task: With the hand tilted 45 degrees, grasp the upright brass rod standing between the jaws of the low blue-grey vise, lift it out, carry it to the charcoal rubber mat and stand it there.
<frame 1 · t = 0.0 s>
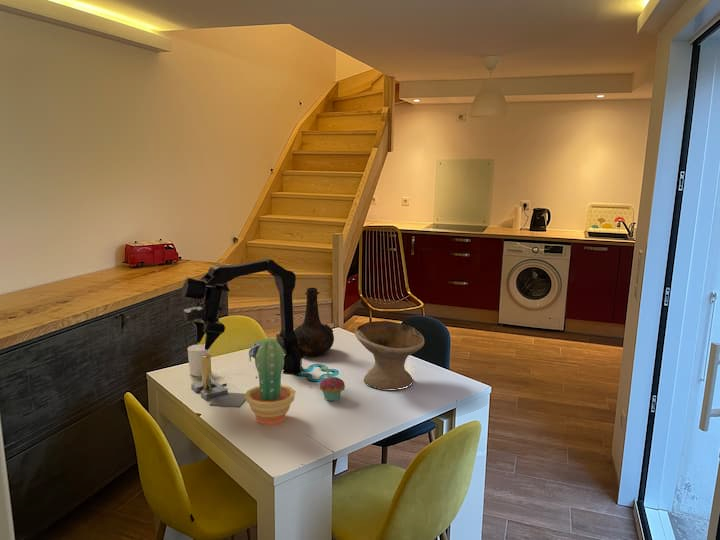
hand: (202, 346, 180), 15 cm above the table, tool pointing down, fingers open, 9 cm apart
brown vase: (312, 353, 224), on the table
rubber mat: (230, 399, 174), on the table
cupcake: (331, 398, 177), on the table
potted cactus: (270, 418, 161), on the table
white cup: (199, 373, 198), on the table
vise: (207, 392, 180), on the table
brass rod: (206, 374, 179), in the vise
bowl: (388, 382, 193), on the table
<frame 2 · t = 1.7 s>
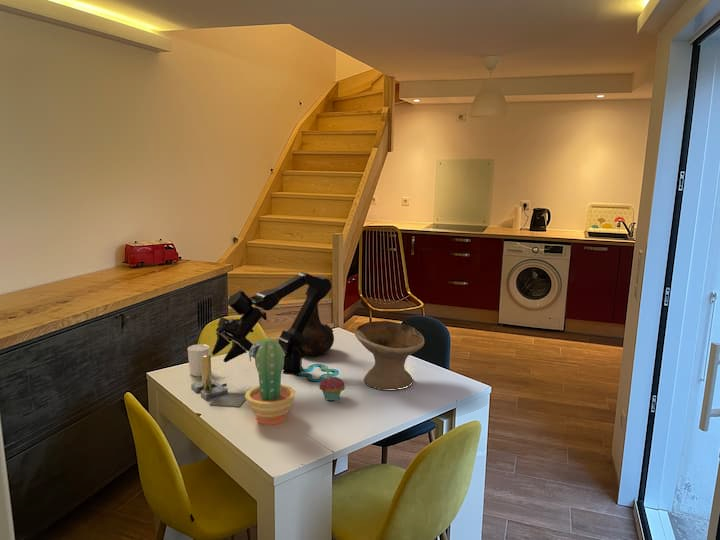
hand: (218, 358, 181), 11 cm above the table, tool tilted 45°, fingers open, 9 cm apart
nothing on the table moved.
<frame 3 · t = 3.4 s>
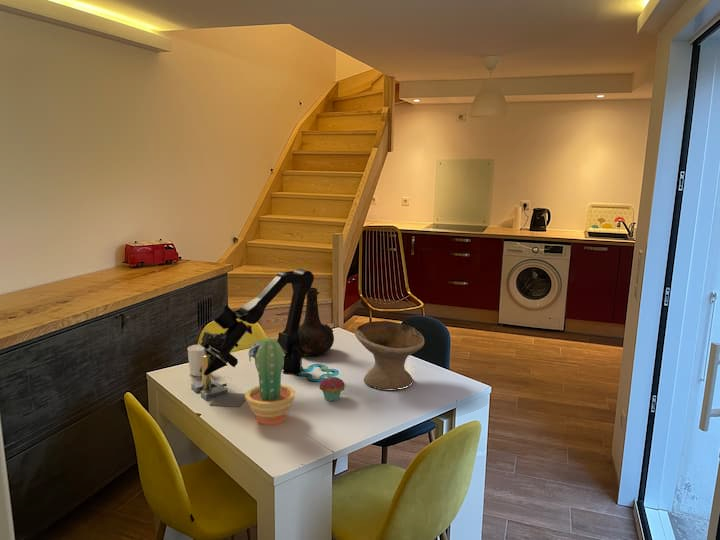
hand: (202, 373, 178), 7 cm above the table, tool tilted 45°, fingers closed on brass rod, 3 cm apart
brass rod: (206, 374, 179), in the vise, touching gripper
everything else where it was.
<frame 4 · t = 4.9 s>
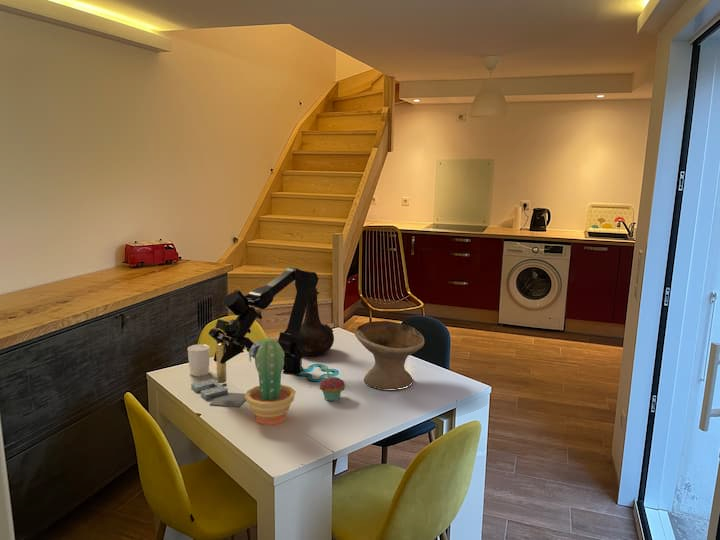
hand: (217, 362, 172), 13 cm above the table, tool tilted 45°, fingers closed on brass rod, 3 cm apart
brass rod: (221, 362, 173), point 12 cm above the table, touching gripper
everything else where it was.
when the fingers open (9 cm above the table, at t = 6.1 s): brass rod drops 1 cm, resting on rubber mat.
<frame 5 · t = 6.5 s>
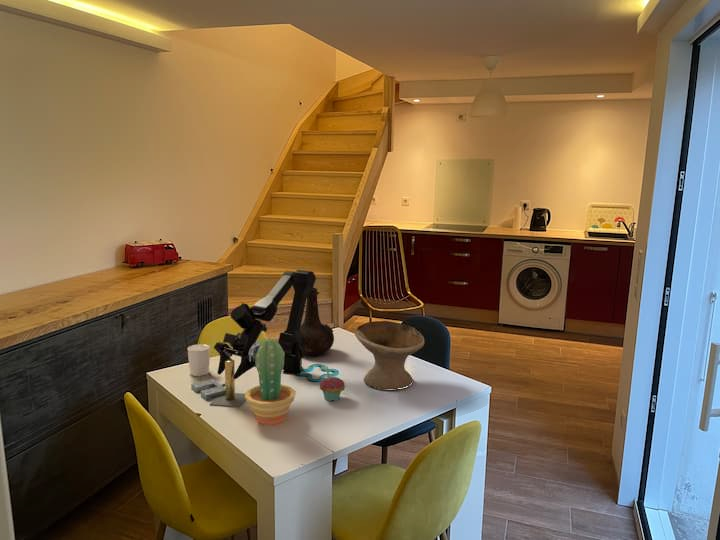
hand: (226, 376, 171), 9 cm above the table, tool tilted 45°, fingers open, 7 cm apart
brass rod: (229, 380, 173), on the rubber mat
everything else where it was.
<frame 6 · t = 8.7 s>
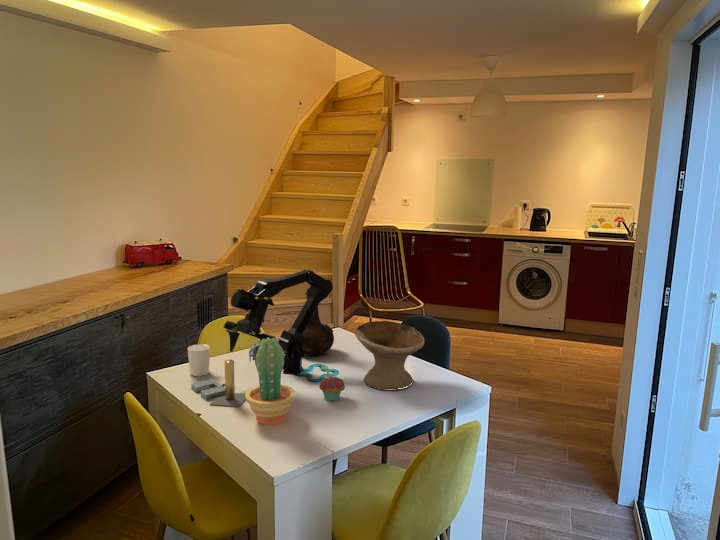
hand: (242, 355, 186), 10 cm above the table, tool tilted 25°, fingers open, 9 cm apart
nothing on the table moved.
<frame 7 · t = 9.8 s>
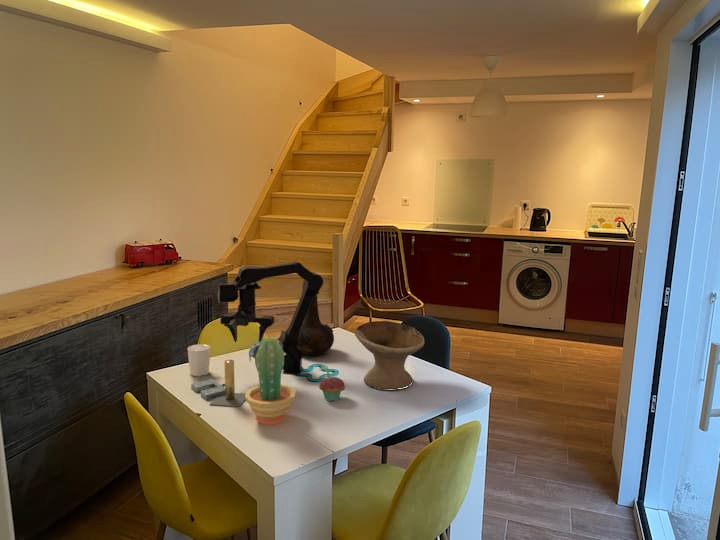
hand: (247, 342, 193), 13 cm above the table, tool pointing down, fingers open, 9 cm apart
nothing on the table moved.
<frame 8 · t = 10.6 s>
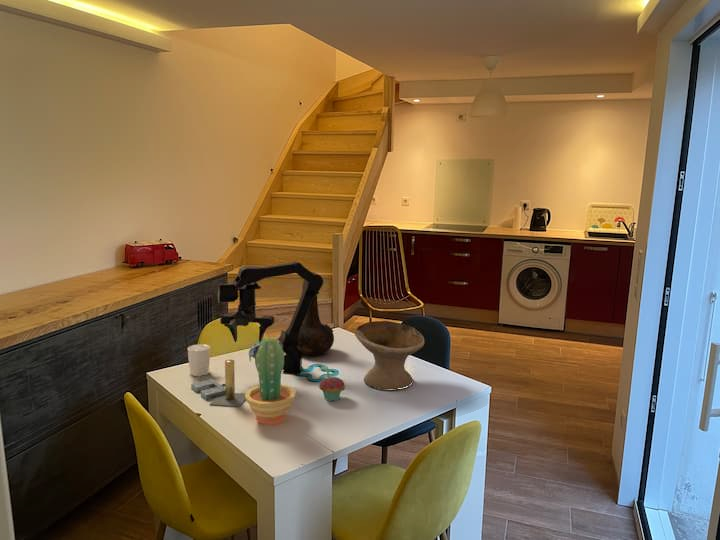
hand: (247, 342, 193), 13 cm above the table, tool pointing down, fingers open, 9 cm apart
nothing on the table moved.
at the end: brass rod inside the target area on the rubber mat (0.0 cm from its centre), point 6.9 cm above the rubber mat's base; brass rod touching rubber mat; brass rod tilted 1° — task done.
